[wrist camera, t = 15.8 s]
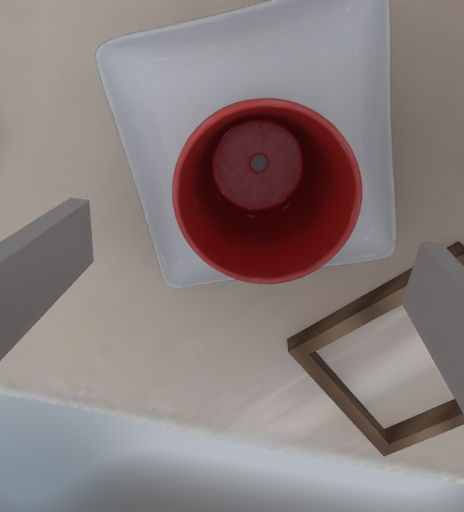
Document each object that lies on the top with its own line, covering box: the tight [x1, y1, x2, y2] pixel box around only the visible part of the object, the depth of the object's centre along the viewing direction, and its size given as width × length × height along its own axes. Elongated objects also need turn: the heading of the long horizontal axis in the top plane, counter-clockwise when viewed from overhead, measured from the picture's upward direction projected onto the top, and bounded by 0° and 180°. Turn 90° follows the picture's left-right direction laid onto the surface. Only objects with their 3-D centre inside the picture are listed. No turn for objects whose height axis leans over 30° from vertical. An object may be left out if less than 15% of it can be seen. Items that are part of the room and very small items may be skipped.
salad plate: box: [96, 0, 396, 288], centre depth 32 cm, size 21×21×3 cm
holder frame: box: [287, 242, 464, 456], centre depth 40 cm, size 19×19×2 cm
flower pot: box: [172, 98, 362, 284], centre depth 26 cm, size 11×11×10 cm
